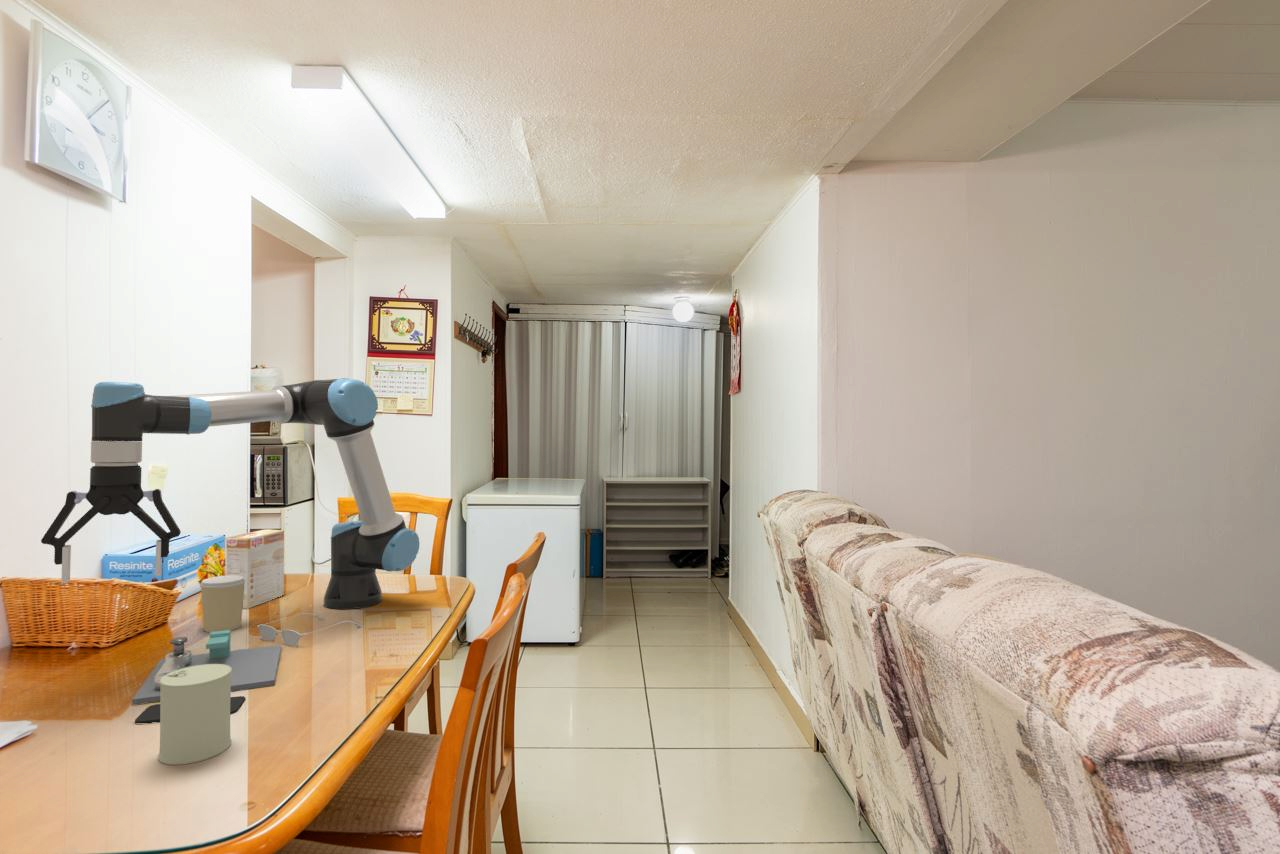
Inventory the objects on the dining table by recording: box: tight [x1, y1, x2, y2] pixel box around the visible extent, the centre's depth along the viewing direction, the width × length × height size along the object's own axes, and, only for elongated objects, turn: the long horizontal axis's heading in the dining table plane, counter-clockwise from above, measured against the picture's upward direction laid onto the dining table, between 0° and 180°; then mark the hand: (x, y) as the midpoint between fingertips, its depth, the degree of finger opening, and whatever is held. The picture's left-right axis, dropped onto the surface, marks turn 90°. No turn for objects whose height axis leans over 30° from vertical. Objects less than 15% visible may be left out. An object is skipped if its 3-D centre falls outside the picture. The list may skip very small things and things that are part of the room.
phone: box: [134, 695, 246, 724], centre depth 114 cm, size 7×1×15 cm
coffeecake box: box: [225, 528, 285, 610], centre depth 187 cm, size 15×7×20 cm, turn 172°
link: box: [154, 636, 193, 689], centre depth 128 cm, size 17×4×5 cm, turn 26°
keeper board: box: [131, 630, 282, 706], centre depth 131 cm, size 22×23×6 cm
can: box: [157, 664, 232, 766], centre depth 100 cm, size 9×9×12 cm
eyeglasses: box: [256, 612, 363, 647], centre depth 159 cm, size 15×18×4 cm
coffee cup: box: [199, 575, 245, 633], centre depth 162 cm, size 9×9×12 cm
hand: (113, 578), depth 123 cm, fingers open, 13 cm apart
